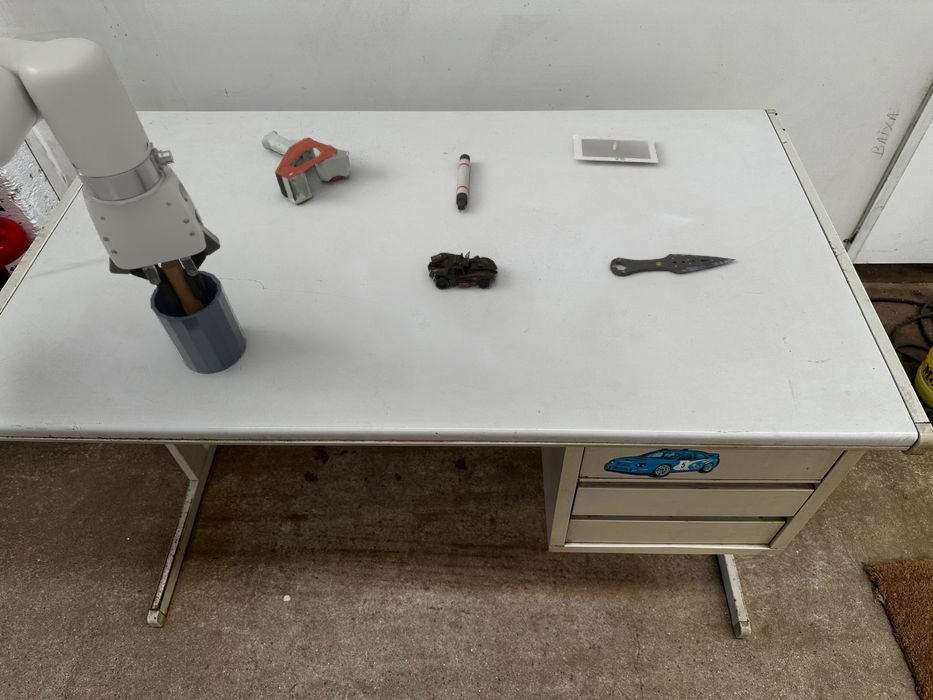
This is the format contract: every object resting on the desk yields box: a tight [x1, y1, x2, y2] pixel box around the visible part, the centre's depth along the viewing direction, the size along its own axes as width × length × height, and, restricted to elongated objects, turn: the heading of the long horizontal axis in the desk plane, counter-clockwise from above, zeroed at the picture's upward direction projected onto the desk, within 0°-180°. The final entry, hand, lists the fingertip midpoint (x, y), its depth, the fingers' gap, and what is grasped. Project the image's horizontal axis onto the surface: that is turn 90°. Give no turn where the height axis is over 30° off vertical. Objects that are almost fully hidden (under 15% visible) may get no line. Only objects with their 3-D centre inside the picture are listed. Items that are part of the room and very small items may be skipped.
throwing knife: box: [609, 253, 737, 277], centre depth 94 cm, size 4×20×1 cm, turn 95°
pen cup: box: [149, 270, 247, 374], centre depth 81 cm, size 9×9×11 cm
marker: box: [455, 153, 471, 213], centre depth 107 cm, size 15×2×2 cm, turn 178°
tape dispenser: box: [261, 130, 351, 205], centre depth 109 cm, size 18×5×20 cm
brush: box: [160, 259, 204, 316], centre depth 78 cm, size 4×4×15 cm
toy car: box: [427, 250, 499, 290], centre depth 92 cm, size 6×12×4 cm, turn 85°
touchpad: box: [572, 134, 659, 164], centre depth 113 cm, size 8×15×2 cm, turn 86°
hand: (186, 294), depth 77 cm, fingers closed on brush, 2 cm apart
